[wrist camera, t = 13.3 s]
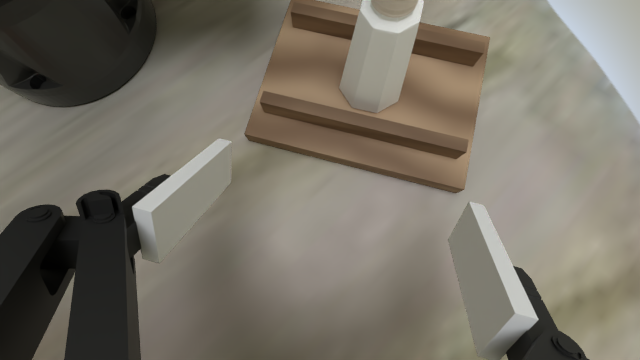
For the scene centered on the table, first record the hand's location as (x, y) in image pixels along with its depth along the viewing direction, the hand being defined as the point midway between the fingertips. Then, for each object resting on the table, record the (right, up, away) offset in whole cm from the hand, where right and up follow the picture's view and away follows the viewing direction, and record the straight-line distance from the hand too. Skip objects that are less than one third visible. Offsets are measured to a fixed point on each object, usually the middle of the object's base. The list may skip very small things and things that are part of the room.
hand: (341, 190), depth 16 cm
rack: (+3, +8, +10) cm, 14 cm away
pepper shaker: (+3, +9, +9) cm, 13 cm away
